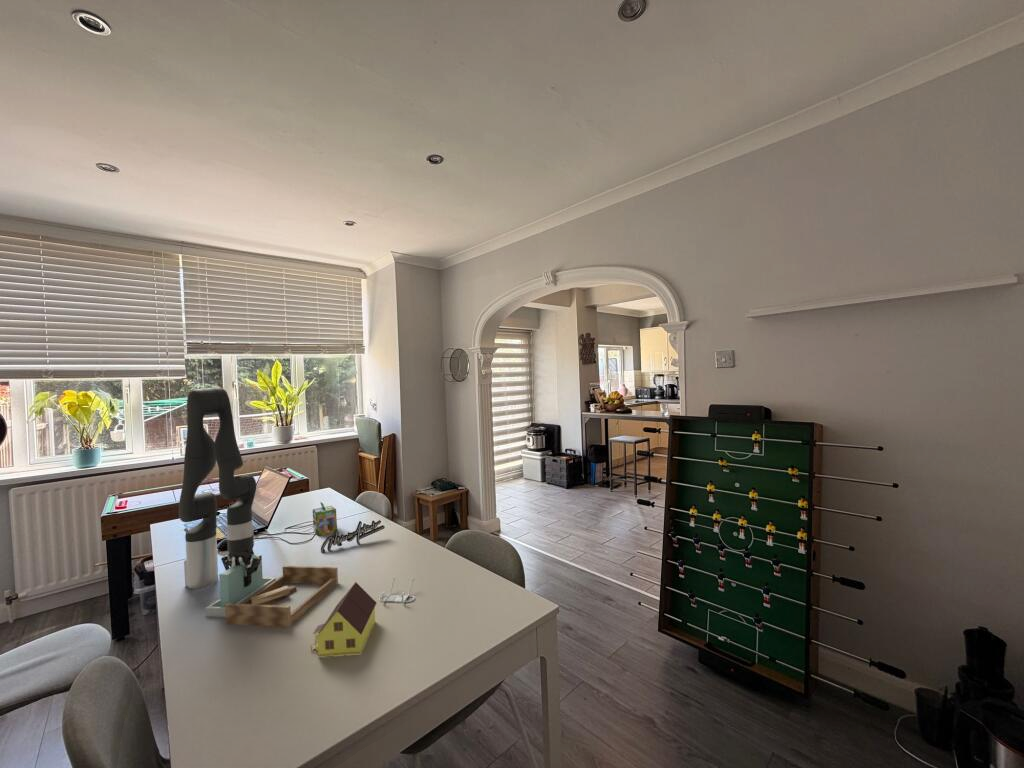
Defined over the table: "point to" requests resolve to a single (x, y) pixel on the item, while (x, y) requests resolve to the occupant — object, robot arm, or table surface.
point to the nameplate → (352, 535)
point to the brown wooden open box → (278, 613)
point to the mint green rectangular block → (238, 584)
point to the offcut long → (292, 589)
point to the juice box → (324, 520)
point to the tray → (219, 611)
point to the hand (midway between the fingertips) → (242, 585)
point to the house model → (347, 625)
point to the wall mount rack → (397, 596)
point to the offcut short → (270, 595)
